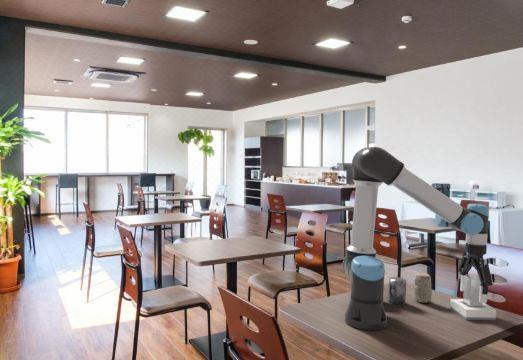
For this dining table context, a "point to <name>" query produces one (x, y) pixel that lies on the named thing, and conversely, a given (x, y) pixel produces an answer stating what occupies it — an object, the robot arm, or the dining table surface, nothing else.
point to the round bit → (397, 291)
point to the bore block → (472, 311)
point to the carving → (422, 287)
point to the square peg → (472, 291)
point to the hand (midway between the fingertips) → (473, 296)
